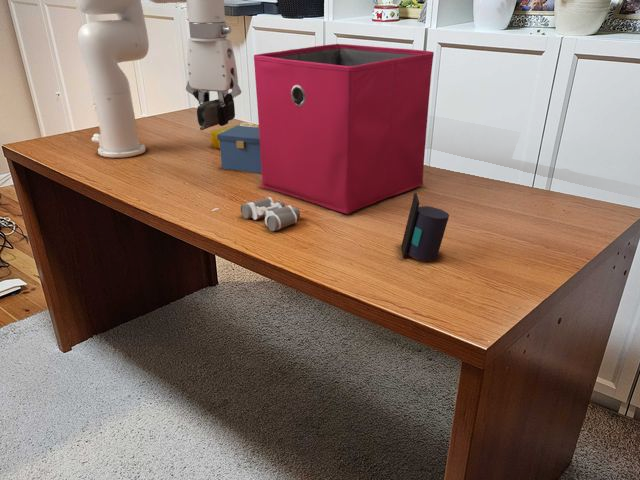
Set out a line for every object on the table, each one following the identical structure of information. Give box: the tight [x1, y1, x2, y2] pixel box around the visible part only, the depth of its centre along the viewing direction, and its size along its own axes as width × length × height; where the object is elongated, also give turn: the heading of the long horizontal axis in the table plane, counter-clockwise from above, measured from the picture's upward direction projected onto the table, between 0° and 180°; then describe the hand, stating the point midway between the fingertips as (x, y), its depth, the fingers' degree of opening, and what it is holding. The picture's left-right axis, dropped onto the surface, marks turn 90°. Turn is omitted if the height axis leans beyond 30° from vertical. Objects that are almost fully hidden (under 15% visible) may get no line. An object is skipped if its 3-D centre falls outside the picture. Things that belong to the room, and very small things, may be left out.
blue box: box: [217, 126, 262, 174], centre depth 150 cm, size 13×11×8 cm
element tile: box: [210, 122, 259, 150], centre depth 168 cm, size 15×15×5 cm
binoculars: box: [240, 196, 301, 232], centre depth 120 cm, size 12×8×4 cm, turn 41°
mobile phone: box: [196, 98, 236, 131], centre depth 132 cm, size 5×3×15 cm
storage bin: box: [253, 43, 435, 215], centre depth 131 cm, size 28×29×28 cm
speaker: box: [400, 192, 450, 262], centre depth 104 cm, size 8×6×10 cm
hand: (216, 123), depth 133 cm, fingers closed on mobile phone, 3 cm apart
